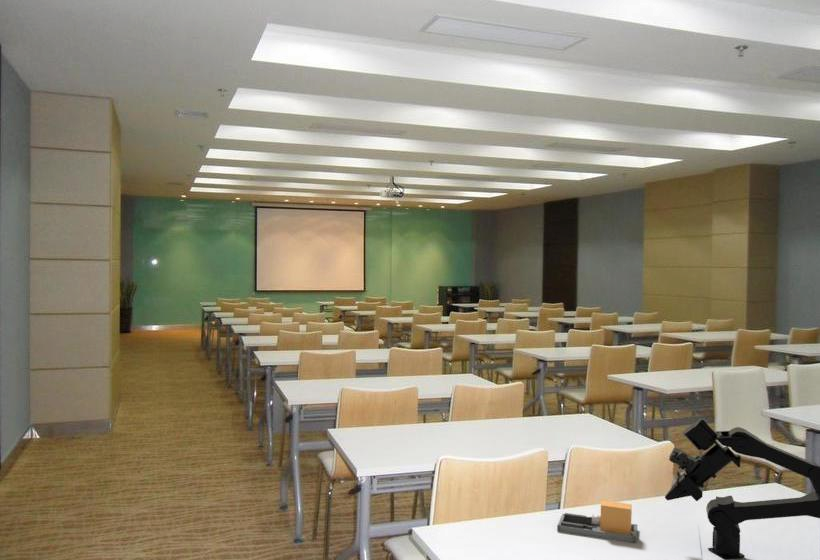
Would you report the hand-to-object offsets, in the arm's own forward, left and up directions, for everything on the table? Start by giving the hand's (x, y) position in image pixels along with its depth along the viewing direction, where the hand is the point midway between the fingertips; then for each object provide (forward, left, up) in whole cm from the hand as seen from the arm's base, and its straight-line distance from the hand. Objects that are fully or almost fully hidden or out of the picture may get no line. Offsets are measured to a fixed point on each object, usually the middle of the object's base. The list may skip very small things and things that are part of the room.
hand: (666, 498), depth 181 cm
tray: (+11, +14, -12) cm, 22 cm away
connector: (+8, +11, -11) cm, 18 cm away
